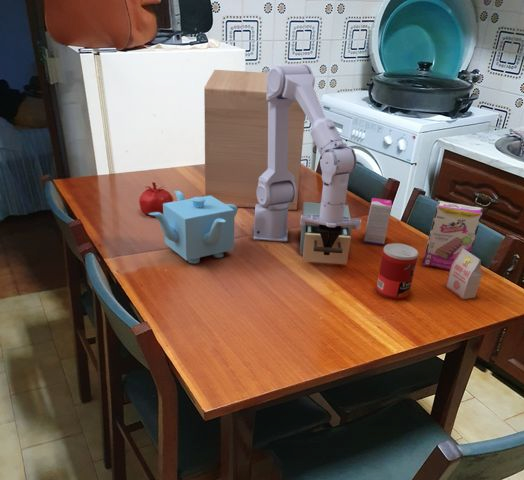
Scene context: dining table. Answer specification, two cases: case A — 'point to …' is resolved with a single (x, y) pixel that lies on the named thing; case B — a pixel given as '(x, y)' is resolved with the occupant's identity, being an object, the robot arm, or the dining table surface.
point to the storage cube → (243, 137)
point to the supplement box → (378, 221)
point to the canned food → (396, 270)
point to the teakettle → (197, 226)
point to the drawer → (316, 249)
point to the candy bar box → (451, 233)
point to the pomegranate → (154, 199)
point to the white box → (465, 275)
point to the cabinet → (314, 209)
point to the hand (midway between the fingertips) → (326, 253)
